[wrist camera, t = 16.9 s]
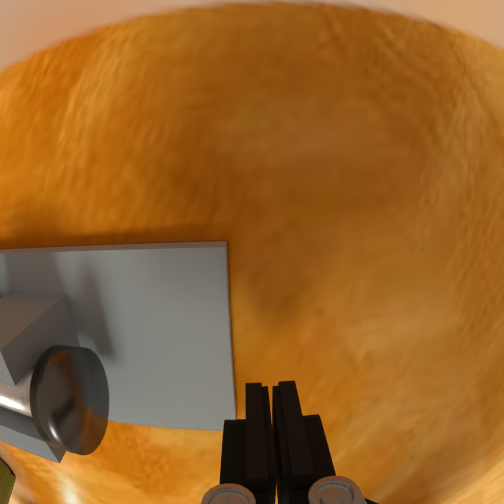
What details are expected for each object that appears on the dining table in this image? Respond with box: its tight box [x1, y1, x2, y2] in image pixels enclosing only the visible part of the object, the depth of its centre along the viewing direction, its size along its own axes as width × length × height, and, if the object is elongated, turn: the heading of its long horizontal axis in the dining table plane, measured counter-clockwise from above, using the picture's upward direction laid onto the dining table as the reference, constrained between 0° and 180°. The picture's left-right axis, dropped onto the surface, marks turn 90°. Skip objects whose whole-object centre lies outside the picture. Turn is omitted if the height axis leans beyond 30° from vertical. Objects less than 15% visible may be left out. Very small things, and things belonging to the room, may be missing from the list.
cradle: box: [0, 241, 237, 463], centre depth 11 cm, size 21×10×6 cm, turn 91°
